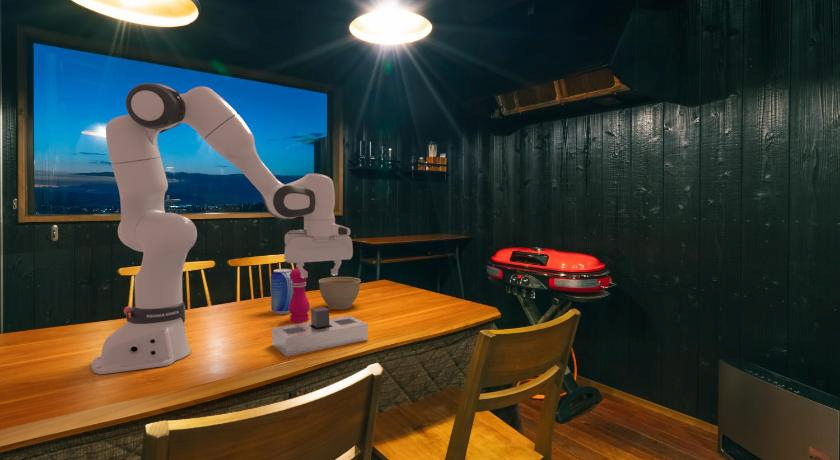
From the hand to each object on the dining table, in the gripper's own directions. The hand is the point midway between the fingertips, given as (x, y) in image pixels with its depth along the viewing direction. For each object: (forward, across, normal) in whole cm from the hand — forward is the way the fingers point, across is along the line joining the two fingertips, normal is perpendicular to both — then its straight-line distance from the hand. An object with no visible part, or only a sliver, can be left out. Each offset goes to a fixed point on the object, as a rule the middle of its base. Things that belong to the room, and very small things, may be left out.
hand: (319, 276), depth 133 cm
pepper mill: (+20, +4, +28) cm, 35 cm away
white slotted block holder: (+20, 0, 0) cm, 20 cm away
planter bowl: (+20, +24, +37) cm, 48 cm away
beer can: (+20, +4, +42) cm, 47 cm away
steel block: (+20, 0, 0) cm, 20 cm away
